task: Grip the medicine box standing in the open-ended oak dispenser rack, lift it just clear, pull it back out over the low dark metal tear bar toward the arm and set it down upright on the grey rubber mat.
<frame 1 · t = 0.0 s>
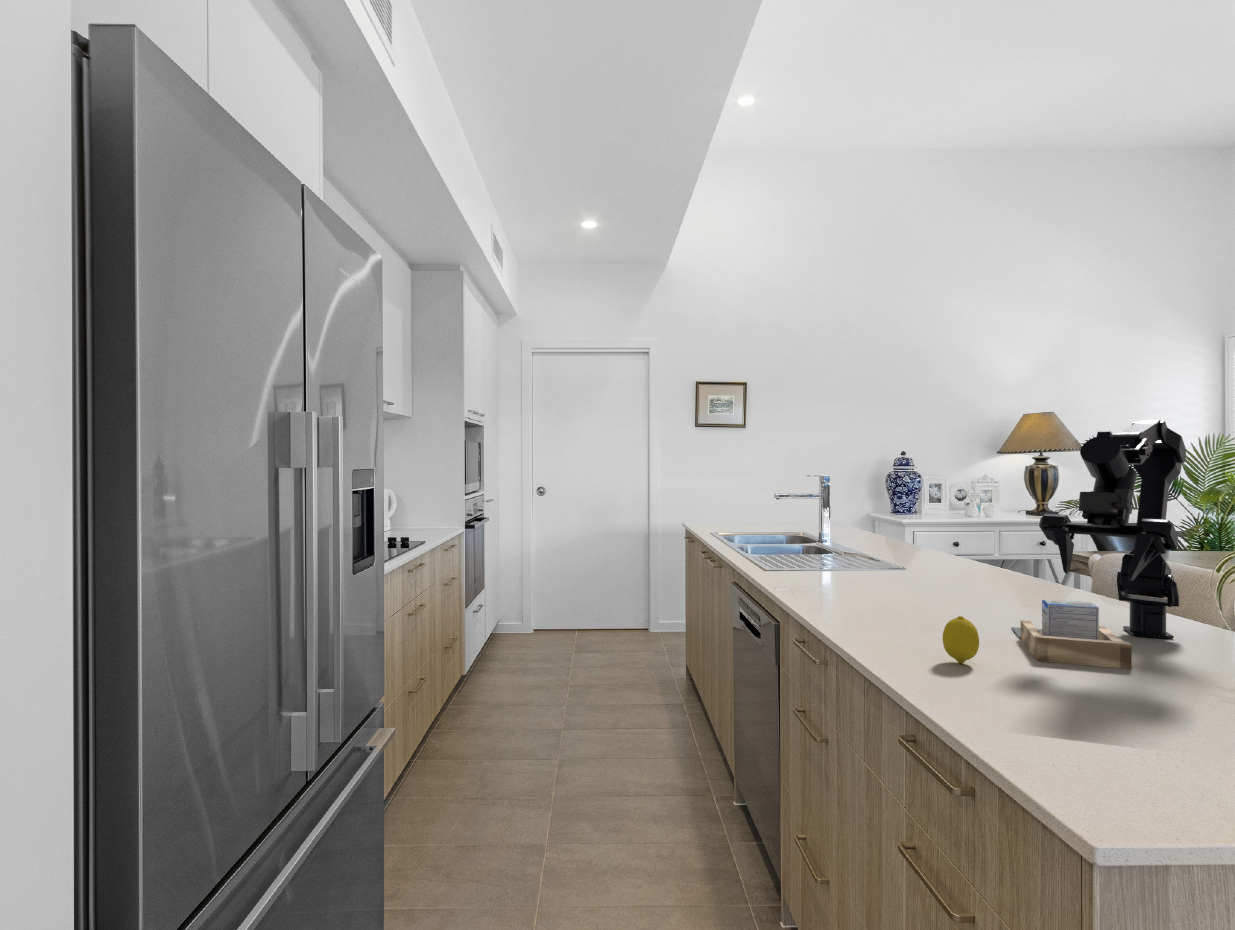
hand: (1097, 575, 115), 15 cm above the counter, tool tilted 35°, fingers open, 9 cm apart
dispenser rack: (1071, 652, 123), on the counter
medicine box: (1069, 651, 124), resting in dispenser rack
mat: (1050, 635, 134), on the counter
lemon: (960, 664, 117), on the counter
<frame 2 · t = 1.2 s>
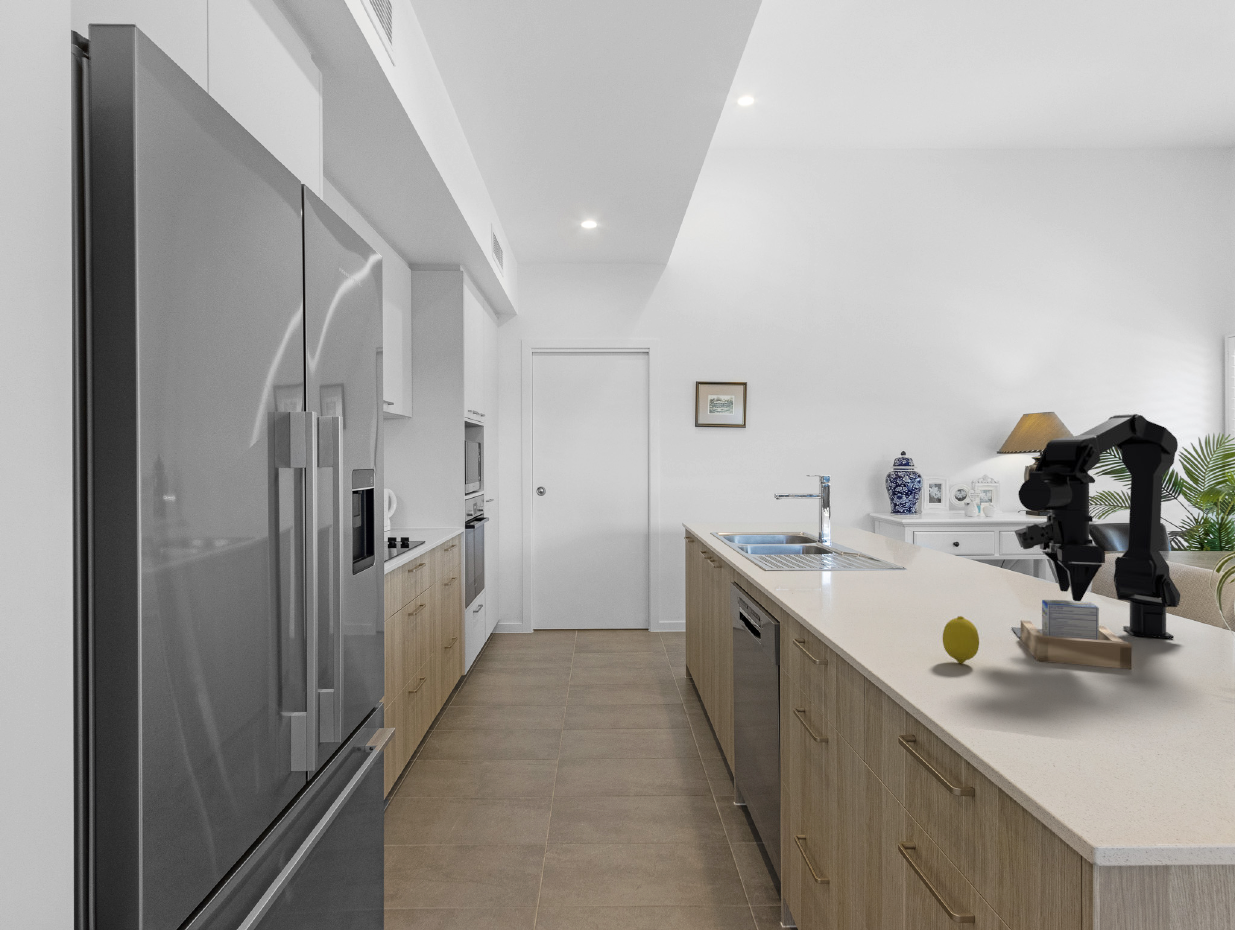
hand: (1070, 595, 124), 10 cm above the counter, tool pointing down, fingers open, 9 cm apart
nothing on the counter moved.
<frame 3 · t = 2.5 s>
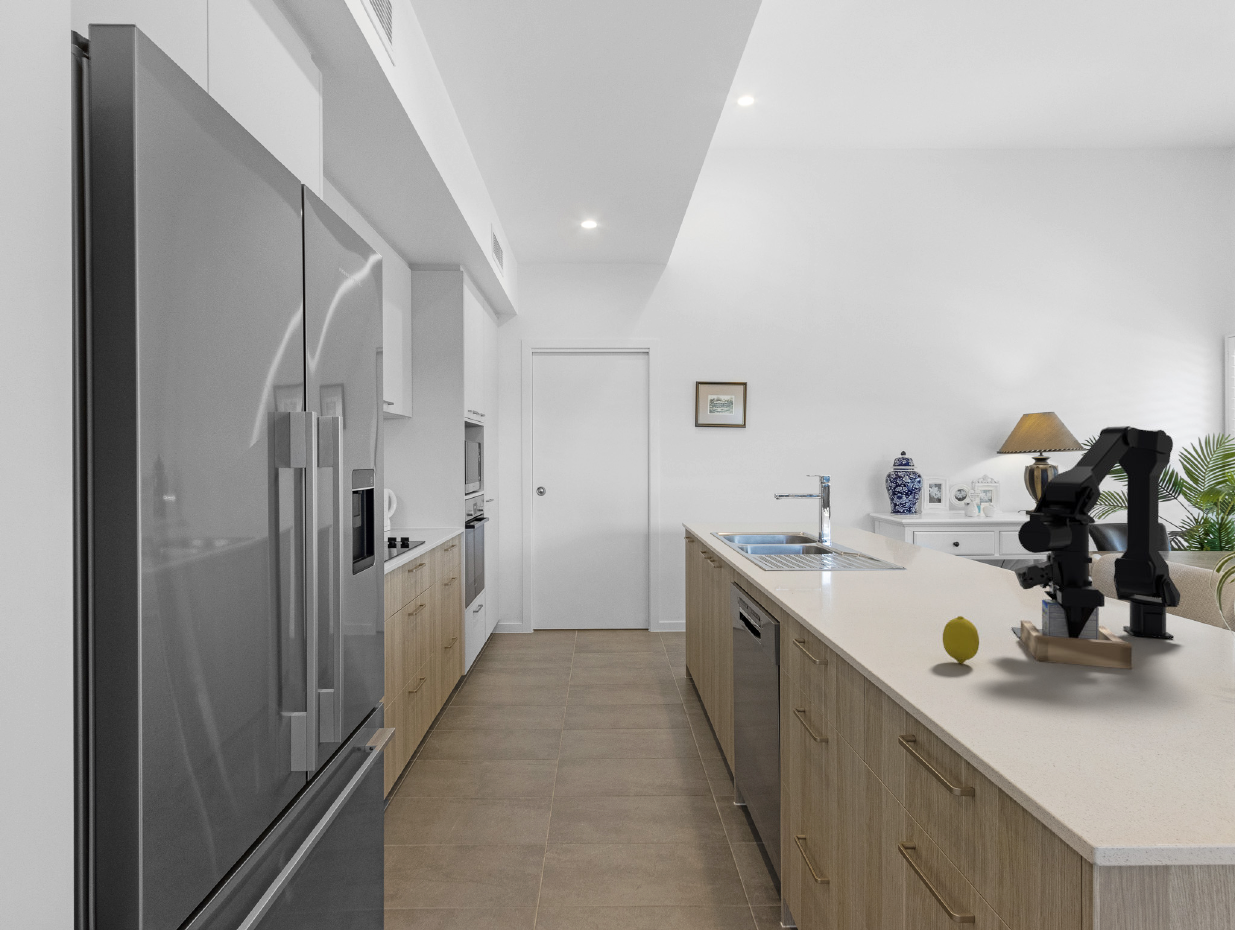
hand: (1069, 636, 124), 3 cm above the counter, tool pointing down, fingers closed on medicine box, 4 cm apart
medicine box: (1069, 651, 124), resting in dispenser rack, touching gripper
everything else where it was.
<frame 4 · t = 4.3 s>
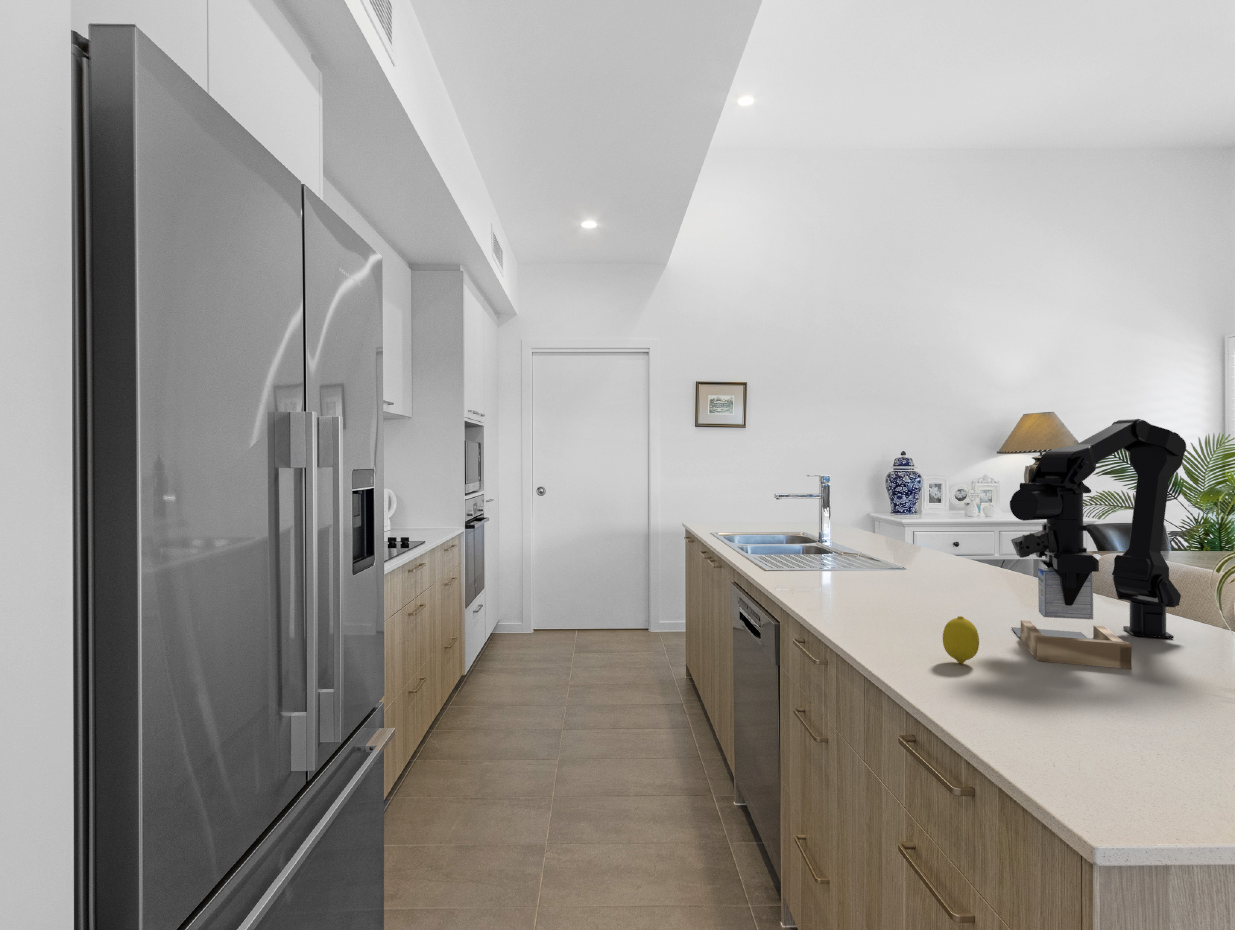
hand: (1065, 602, 128), 8 cm above the counter, tool pointing down, fingers closed on medicine box, 4 cm apart
medicine box: (1065, 617, 128), point 5 cm above the counter, touching gripper
everything else where it was.
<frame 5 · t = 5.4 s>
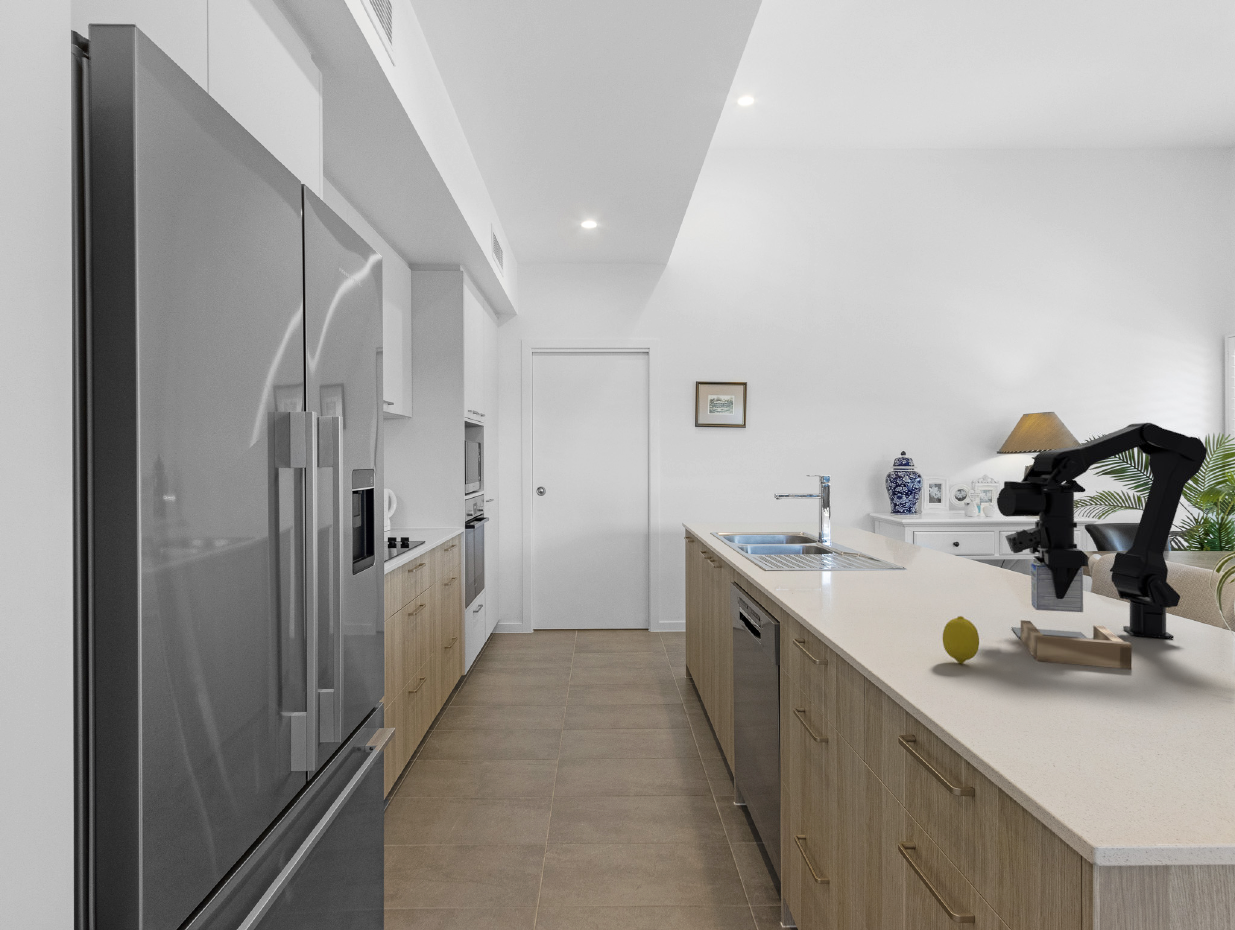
hand: (1056, 596, 134), 8 cm above the counter, tool pointing down, fingers closed on medicine box, 4 cm apart
medicine box: (1056, 610, 134), point 5 cm above the counter, touching gripper
everything else where it was.
when the fingers open (3 cm above the counter, at t = 6.4 s): medicine box stays where it is, resting on mat.
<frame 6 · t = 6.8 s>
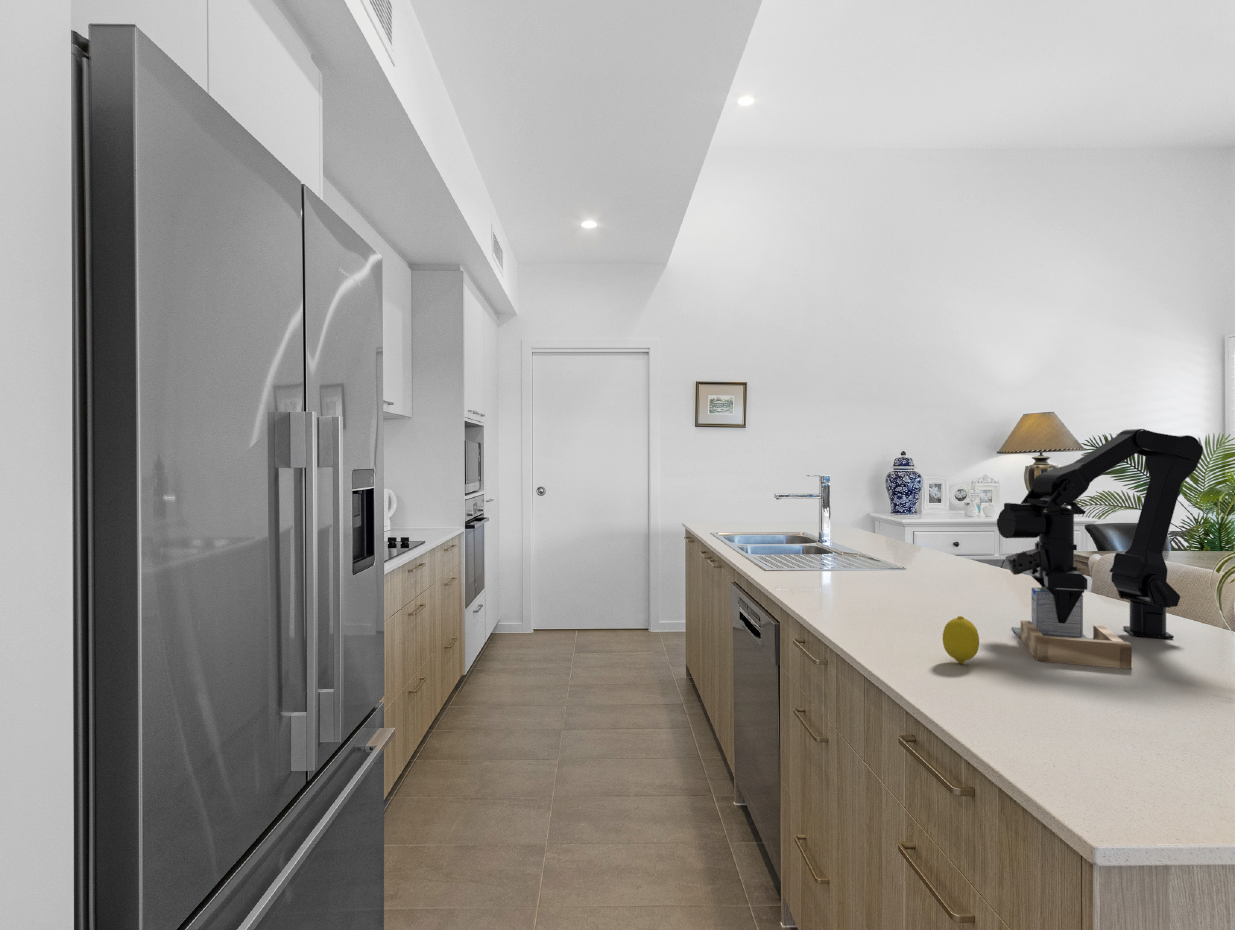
hand: (1056, 618, 134), 3 cm above the counter, tool pointing down, fingers open, 8 cm apart
medicine box: (1056, 635, 134), resting on mat
everything else where it was.
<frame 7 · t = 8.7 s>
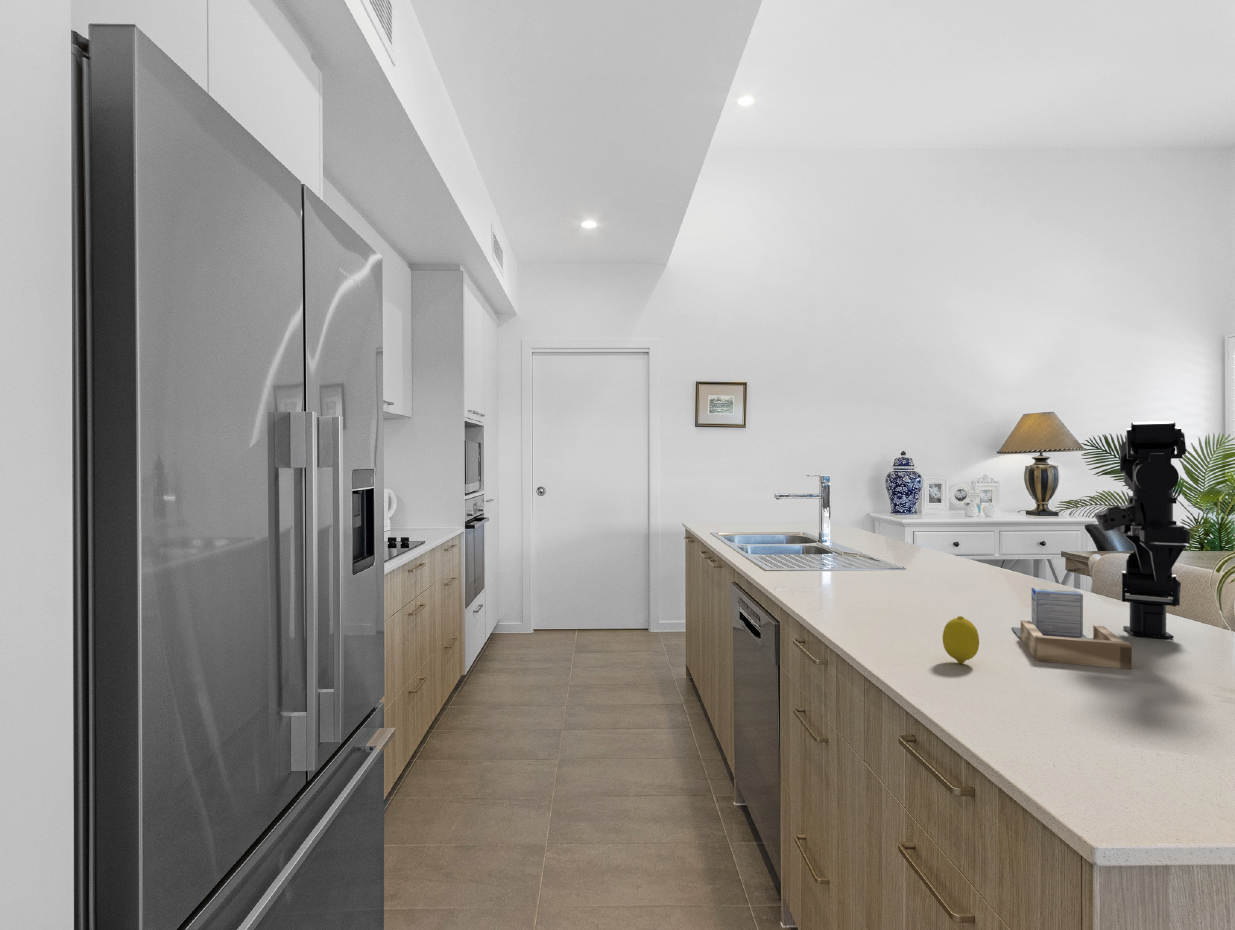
hand: (1152, 577, 125), 13 cm above the counter, tool pointing down, fingers open, 9 cm apart
nothing on the counter moved.
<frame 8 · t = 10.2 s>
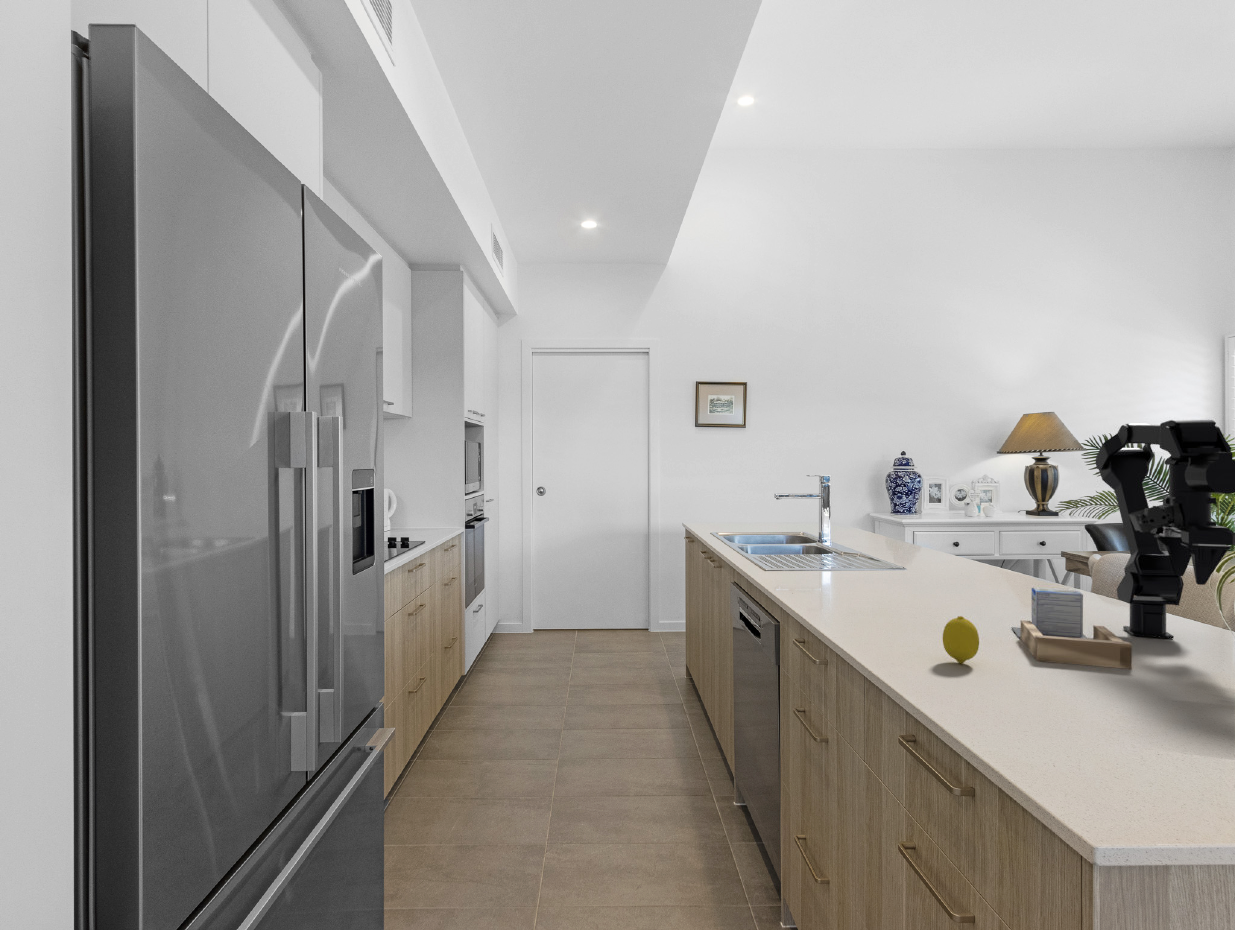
hand: (1189, 580, 122), 13 cm above the counter, tool pointing down, fingers open, 9 cm apart
nothing on the counter moved.
at the end: medicine box inside the target area (0.8 cm from its centre), resting on mat; medicine box tilted 0°; the gripper is holding nothing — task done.
